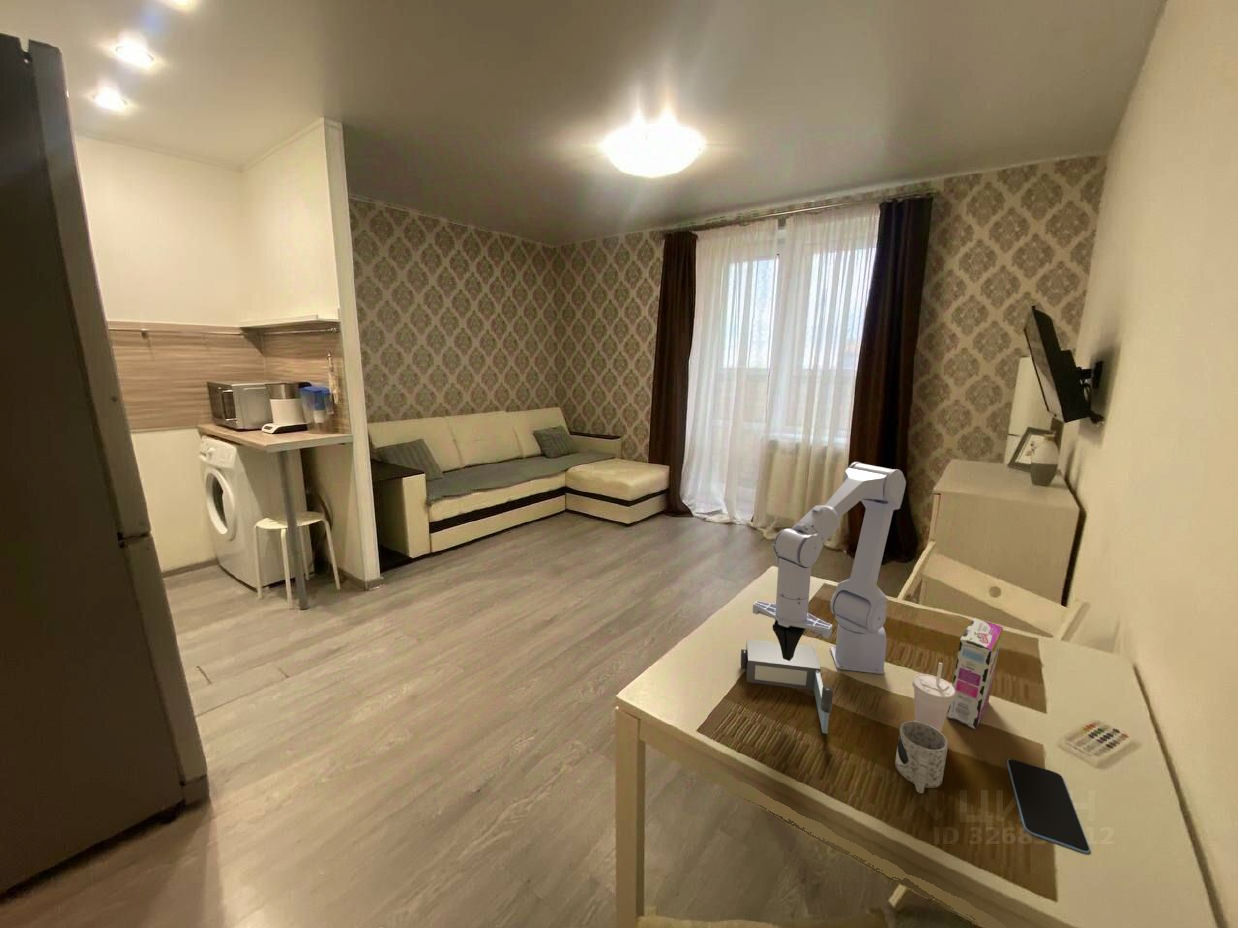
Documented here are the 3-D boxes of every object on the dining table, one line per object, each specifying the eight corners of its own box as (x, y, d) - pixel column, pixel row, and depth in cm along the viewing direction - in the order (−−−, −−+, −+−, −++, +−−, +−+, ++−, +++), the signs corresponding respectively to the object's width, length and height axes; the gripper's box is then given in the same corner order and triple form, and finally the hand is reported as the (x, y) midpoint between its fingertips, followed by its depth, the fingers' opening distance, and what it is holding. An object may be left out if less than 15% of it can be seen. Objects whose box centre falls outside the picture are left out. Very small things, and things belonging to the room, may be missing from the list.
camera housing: (812, 666, 108) (813, 646, 107) (818, 690, 100) (820, 668, 99) (740, 658, 111) (741, 638, 110) (741, 681, 103) (742, 659, 102)
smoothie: (954, 748, 86) (966, 676, 83) (913, 743, 87) (923, 672, 84) (939, 722, 92) (949, 654, 89) (901, 717, 93) (910, 650, 90)
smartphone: (1025, 830, 71) (1005, 755, 83) (1024, 835, 71) (1004, 760, 84) (1094, 854, 67) (1062, 772, 80) (1093, 859, 67) (1061, 777, 80)
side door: (810, 688, 101) (814, 651, 99) (820, 689, 100) (823, 653, 98) (819, 732, 89) (823, 692, 87) (830, 734, 88) (834, 693, 87)
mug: (895, 748, 86) (900, 715, 84) (941, 764, 82) (947, 729, 81) (893, 792, 77) (898, 755, 76) (944, 811, 74) (950, 773, 73)
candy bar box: (978, 731, 89) (992, 650, 86) (945, 717, 93) (958, 638, 89) (990, 701, 97) (1004, 625, 93) (960, 689, 100) (972, 615, 97)
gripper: (747, 589, 94) (743, 652, 97) (825, 613, 85) (819, 683, 88) (762, 576, 100) (759, 637, 103) (838, 598, 91) (832, 664, 94)
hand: (788, 657), depth 96 cm, fingers closed
